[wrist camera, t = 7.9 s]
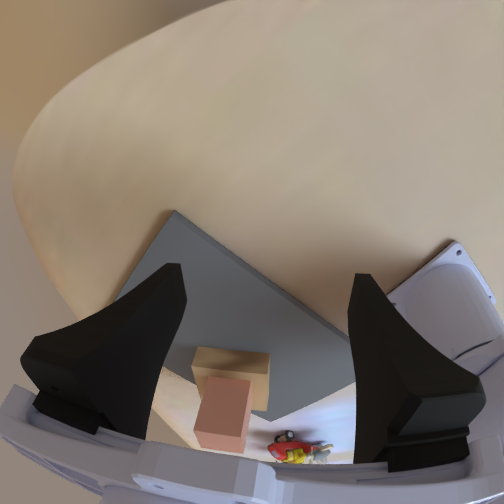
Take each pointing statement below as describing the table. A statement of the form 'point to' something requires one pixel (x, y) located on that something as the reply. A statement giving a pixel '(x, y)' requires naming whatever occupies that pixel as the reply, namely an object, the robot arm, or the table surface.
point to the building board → (246, 320)
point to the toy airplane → (298, 450)
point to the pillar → (224, 414)
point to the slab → (234, 371)
